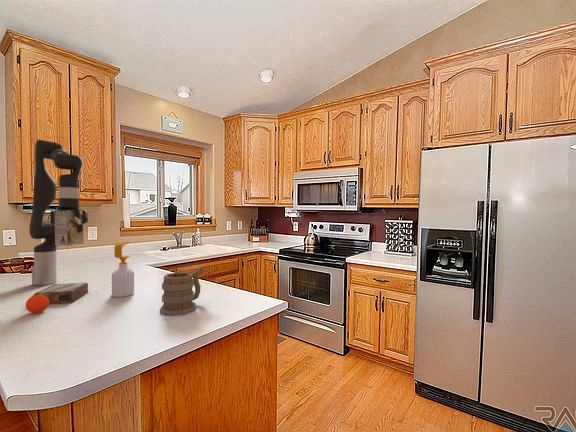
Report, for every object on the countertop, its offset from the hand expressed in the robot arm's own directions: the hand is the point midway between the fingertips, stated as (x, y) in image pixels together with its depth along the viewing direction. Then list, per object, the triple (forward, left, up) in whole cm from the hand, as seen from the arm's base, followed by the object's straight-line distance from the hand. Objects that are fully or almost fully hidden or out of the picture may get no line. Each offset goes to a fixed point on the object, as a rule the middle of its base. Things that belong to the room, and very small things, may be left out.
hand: (69, 233), depth 136 cm
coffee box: (0, 0, -6) cm, 6 cm away
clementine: (0, -24, -29) cm, 37 cm away
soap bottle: (+24, -5, -29) cm, 38 cm away
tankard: (+54, -31, -29) cm, 68 cm away
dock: (0, -6, -29) cm, 29 cm away
